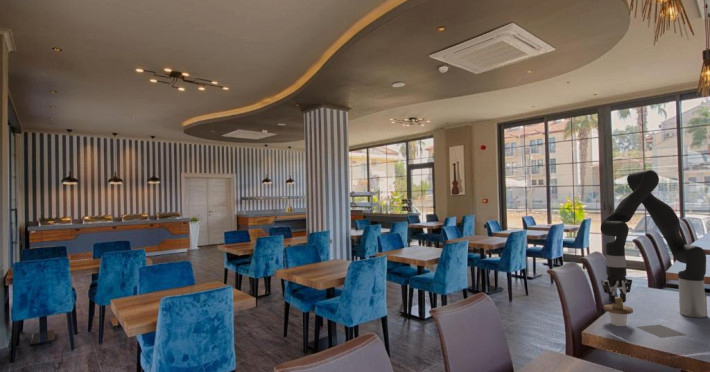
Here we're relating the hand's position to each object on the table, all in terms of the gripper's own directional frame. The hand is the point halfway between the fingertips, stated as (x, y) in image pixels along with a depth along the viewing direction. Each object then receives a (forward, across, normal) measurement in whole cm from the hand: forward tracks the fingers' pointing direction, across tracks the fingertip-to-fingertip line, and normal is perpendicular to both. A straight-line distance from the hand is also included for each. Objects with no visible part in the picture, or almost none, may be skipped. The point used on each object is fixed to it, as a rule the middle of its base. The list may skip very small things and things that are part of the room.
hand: (617, 302), depth 172 cm
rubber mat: (+11, -10, +11) cm, 18 cm away
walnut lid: (+4, 0, 0) cm, 4 cm away
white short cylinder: (+11, 0, 0) cm, 11 cm away
